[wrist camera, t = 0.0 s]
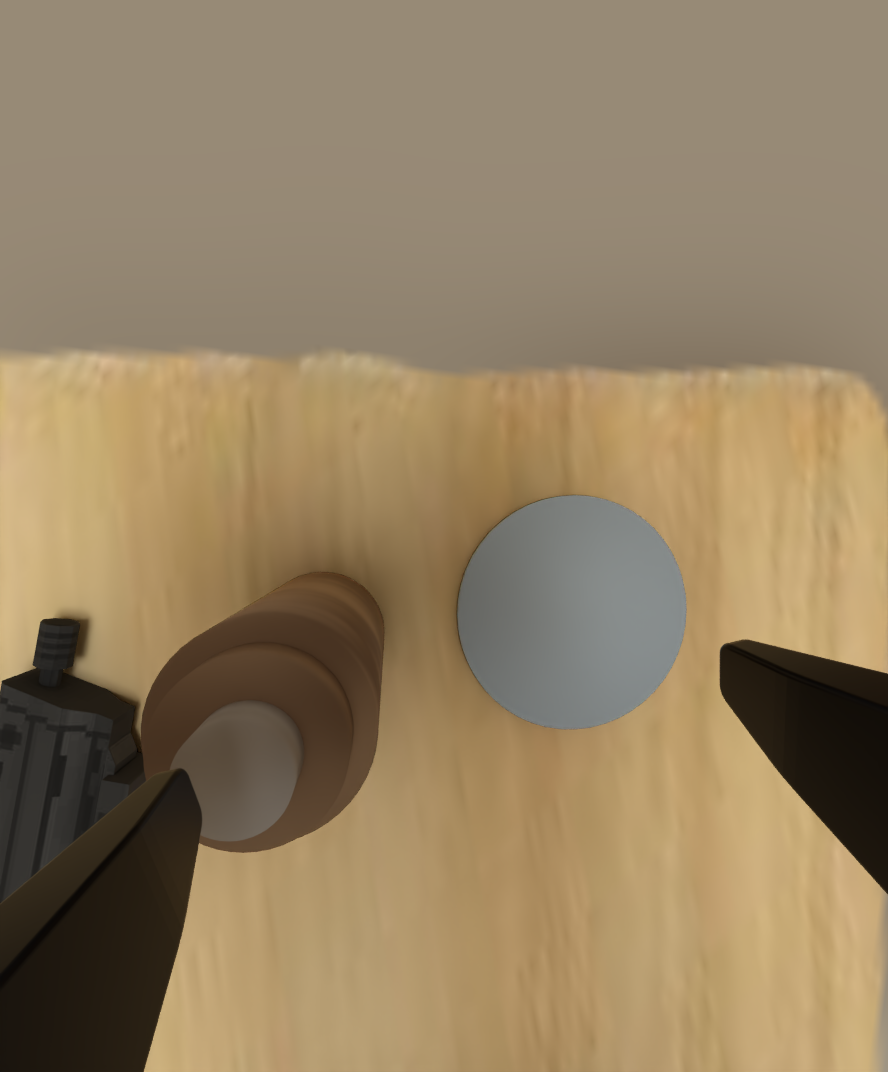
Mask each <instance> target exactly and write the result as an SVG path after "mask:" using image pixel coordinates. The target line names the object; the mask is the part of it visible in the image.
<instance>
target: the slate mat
mask: <svg viewBox="0 0 888 1072" xmlns="http://www.w3.org/2000/svg"><path fill="white" fill-rule="evenodd" d="M457 621H458V632H459V637H460V641H461V646H462V649H463V651H464V654H465V657H466V660H467V662H468V664H469V666H470V668H471V670H472V671H473V673H474V675H475V677H476V678H477V680H478V681H479V683H480V684H481V685H482V687H483V688H484V689H485V690H486V692H487V693H488V694H489V695H490V696H491V697H492V698H493V699H494V700H495V701H496V702H498V703H499V704H500V705H501V706H502V707H504V708H505V709H506V710H508V711H510V712H511V713H513V714H514V715H516V716H518V717H520V718H522V719H524V720H526V721H529V722H531V723H534V724H538V725H541V726H544V727H550V728H557V729H582V728H590V727H594V726H598V725H602V724H605V723H608V722H610V721H613V720H615V719H618V718H620V717H621V716H623V715H625V714H627V713H629V712H630V711H632V710H633V709H635V708H636V707H637V706H639V705H640V704H641V703H643V702H644V701H645V700H646V699H647V698H648V697H649V696H650V695H651V694H652V693H653V692H654V691H655V690H656V689H657V688H658V686H659V685H660V684H661V683H662V681H663V680H664V679H665V677H666V676H667V674H668V672H669V671H670V669H671V668H672V665H673V663H674V661H675V659H676V657H677V655H678V652H679V649H680V646H681V643H682V640H683V635H684V630H685V624H686V594H685V589H684V584H683V579H682V576H681V573H680V570H679V567H678V564H677V562H676V560H675V558H674V556H673V554H672V552H671V550H670V549H669V547H668V546H667V544H666V543H665V541H664V540H663V538H662V537H661V536H660V535H659V534H658V532H657V531H656V530H655V529H654V528H653V527H652V526H651V525H650V524H649V523H647V522H646V521H645V520H644V519H643V518H641V517H640V516H639V515H637V514H636V513H634V512H633V511H631V510H629V509H627V508H625V507H623V506H621V505H619V504H617V503H614V502H611V501H608V500H605V499H601V498H596V497H591V496H579V495H571V496H558V497H553V498H548V499H544V500H540V501H537V502H535V503H532V504H529V505H527V506H525V507H523V508H521V509H519V510H517V511H515V512H513V513H512V514H511V515H509V516H508V517H506V518H505V519H503V520H502V521H501V522H500V523H499V524H498V525H496V526H495V527H494V528H493V529H492V530H491V531H490V532H489V533H488V534H487V536H486V537H485V538H484V539H483V540H482V542H481V543H480V544H479V546H478V547H477V549H476V550H475V552H474V554H473V555H472V557H471V559H470V561H469V563H468V565H467V568H466V570H465V573H464V576H463V579H462V582H461V586H460V591H459V596H458V607H457Z"/></svg>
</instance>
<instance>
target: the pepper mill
mask: <svg viewBox="0 0 888 1072" xmlns="http://www.w3.org/2000/svg"><path fill="white" fill-rule="evenodd" d="M383 649H384V623H383V618H382V614H381V611H380V609H379V607H378V605H377V603H376V601H375V600H374V598H373V597H372V596H371V594H370V593H369V592H368V591H367V590H366V589H365V588H364V587H363V586H361V585H360V584H359V583H357V582H356V581H354V580H352V579H350V578H348V577H346V576H343V575H340V574H336V573H329V572H315V573H309V574H305V575H302V576H299V577H297V578H294V579H292V580H291V581H289V582H287V583H286V584H284V585H282V586H281V587H279V588H277V589H276V590H274V591H272V592H270V593H269V594H267V595H265V596H264V597H262V598H260V599H259V600H257V601H255V602H254V603H252V604H250V605H249V606H247V607H245V608H244V609H242V610H240V611H239V612H237V613H235V614H234V615H232V616H230V617H229V618H227V619H225V620H224V621H222V622H220V623H219V624H217V625H215V626H214V627H212V628H210V629H209V630H207V631H205V632H204V633H202V634H200V635H199V636H197V637H195V638H194V639H192V640H191V641H190V642H188V643H187V644H186V645H184V646H183V647H182V648H181V649H180V650H179V651H178V652H177V653H176V654H175V655H174V656H173V657H172V658H171V659H170V660H169V661H168V662H167V664H166V665H165V666H164V667H163V669H162V670H161V671H160V673H159V675H158V676H157V678H156V680H155V681H154V683H153V685H152V687H151V690H150V692H149V694H148V697H147V699H146V703H145V707H144V711H143V715H142V723H141V747H142V754H143V764H144V772H145V778H146V781H147V780H148V779H149V778H150V777H152V776H153V775H154V774H157V773H160V772H164V771H169V770H173V769H177V768H182V769H184V770H185V771H186V772H187V773H188V775H189V777H190V780H191V783H192V785H193V788H194V791H195V793H196V796H197V799H198V801H199V804H200V807H201V811H202V828H201V834H200V839H199V843H200V844H203V845H205V846H208V847H211V848H214V849H218V850H223V851H228V852H242V853H244V852H258V851H263V850H268V849H272V848H275V847H278V846H281V845H284V844H286V843H288V842H290V841H293V840H295V839H296V838H299V837H302V836H304V835H306V834H308V833H311V832H313V831H315V830H317V829H318V828H320V827H321V826H323V825H325V824H326V823H328V822H329V821H330V820H332V819H333V818H334V817H335V816H337V815H338V814H339V813H340V812H341V811H342V810H343V809H344V808H345V807H346V806H347V805H348V804H349V803H350V802H351V800H352V799H353V798H354V796H355V795H356V794H357V793H358V791H359V790H360V788H361V786H362V785H363V783H364V781H365V779H366V777H367V775H368V773H369V770H370V768H371V765H372V763H373V759H374V755H375V751H376V746H377V738H378V726H379V711H380V695H381V680H382V664H383Z"/></svg>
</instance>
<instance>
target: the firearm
mask: <svg viewBox="0 0 888 1072" xmlns="http://www.w3.org/2000/svg"><path fill="white" fill-rule="evenodd" d="M79 627H80V623H79V621H75V620H71V619H59V618H53V619H44V620H42V621H41V622H40V628H39V633H38V639H37V644H36V650H35V655H34V661H33V666H35V667H37V668H36V669H33V670H30V671H28V672H25V673H22V674H19V675H17V676H14V677H11V678H9V679H6V680H3V681H2V684H1V690H0V903H1V902H3V901H4V900H5V899H6V898H7V897H9V896H10V895H11V894H12V893H13V892H15V891H16V890H17V889H18V888H19V887H21V886H22V885H23V884H24V883H25V882H27V881H28V880H29V879H30V878H31V877H32V876H34V875H35V874H36V873H37V872H38V871H40V870H41V869H42V868H43V867H44V866H46V865H47V864H48V863H49V862H50V861H52V860H53V859H54V858H55V857H56V856H58V855H59V854H60V853H61V852H62V851H63V850H65V849H66V848H67V847H68V846H69V845H71V844H72V843H73V842H74V841H75V840H77V839H78V838H79V837H80V836H81V835H83V834H84V833H85V832H86V831H87V830H88V829H90V828H91V827H92V826H93V825H94V824H96V823H97V822H98V821H99V820H100V819H102V818H103V817H104V816H105V815H106V814H108V813H109V812H110V811H111V810H112V809H114V808H115V807H116V806H117V805H118V804H119V803H121V802H122V801H123V800H124V799H125V798H127V797H128V796H129V795H130V794H131V793H133V792H134V791H135V790H136V789H137V788H139V787H140V786H141V785H142V784H143V783H145V782H146V778H145V772H144V764H143V754H142V753H138V752H137V747H136V745H135V742H134V739H133V737H132V734H131V727H132V721H133V716H134V711H135V706H133V705H130V704H128V703H125V702H123V701H120V700H119V699H118V698H117V697H115V696H114V695H113V694H112V693H111V692H109V691H108V690H107V689H105V688H102V687H99V686H97V685H94V684H92V683H89V682H86V681H84V680H81V679H79V678H76V677H74V676H71V675H68V674H66V673H63V669H67V668H70V667H72V666H73V660H74V655H75V649H76V644H77V638H78V633H79Z"/></svg>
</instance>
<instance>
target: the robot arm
mask: <svg viewBox="0 0 888 1072" xmlns="http://www.w3.org/2000/svg"><path fill="white" fill-rule="evenodd" d="M720 689H721V693H722V695H723V697H724V699H725V701H726V702H727V704H728V705H729V706H730V708H731V709H732V710H733V712H734V713H735V714H736V716H737V717H738V718H739V720H740V721H741V722H742V724H743V725H744V726H745V728H746V729H747V730H748V732H749V733H750V734H751V736H752V737H753V738H754V740H755V741H756V742H757V744H758V745H759V747H760V748H761V749H762V751H763V752H764V753H765V755H766V756H767V757H768V759H769V760H770V761H771V763H772V764H773V765H774V766H775V768H776V769H777V770H778V772H779V773H780V774H781V775H782V777H783V778H784V779H785V780H786V781H787V782H788V784H789V785H790V786H791V787H792V788H793V789H794V791H795V792H796V793H797V794H798V795H799V796H800V797H801V798H802V799H803V801H804V802H805V803H806V804H807V805H808V806H809V807H810V808H811V809H812V811H813V812H814V813H815V814H816V815H817V816H818V817H819V818H820V819H821V821H822V822H823V823H824V824H825V825H826V826H827V827H828V828H829V830H830V831H831V832H832V833H833V834H834V835H835V836H836V837H837V838H838V840H839V841H840V842H841V843H842V844H843V845H844V846H845V847H846V848H847V850H848V851H849V852H850V853H851V854H852V855H853V856H854V857H855V858H856V860H857V861H858V862H859V863H860V864H861V865H862V866H863V867H864V869H865V870H866V871H867V872H868V873H869V874H870V875H871V876H872V877H873V879H874V880H875V881H876V882H877V883H878V884H879V885H880V886H881V887H882V889H883V890H884V891H885V892H886V893H887V894H888V674H887V673H883V672H879V671H875V670H871V669H866V668H862V667H858V666H854V665H850V664H846V663H842V662H838V661H834V660H830V659H825V658H821V657H817V656H813V655H809V654H805V653H801V652H797V651H793V650H788V649H784V648H780V647H776V646H772V645H768V644H764V643H760V642H756V641H752V640H739V641H735V642H731V643H726V644H724V645H723V646H722V647H721V650H720ZM201 828H202V811H201V807H200V804H199V801H198V799H197V796H196V793H195V791H194V788H193V785H192V783H191V780H190V777H189V775H188V773H187V772H186V771H185V770H184V769H182V768H177V769H173V770H169V771H164V772H160V773H157V774H154V775H153V776H152V777H150V778H149V779H148V780H147V781H146V782H145V783H143V784H142V785H141V786H140V787H139V788H137V789H136V790H135V791H134V792H133V793H131V794H130V795H129V796H128V797H127V798H125V799H124V800H123V801H122V802H121V803H119V804H118V805H117V806H116V807H115V808H114V809H112V810H111V811H110V812H109V813H108V814H106V815H105V816H104V817H103V818H102V819H100V820H99V821H98V822H97V823H96V824H94V825H93V826H92V827H91V828H90V829H88V830H87V831H86V832H85V833H84V834H83V835H81V836H80V837H79V838H78V839H77V840H75V841H74V842H73V843H72V844H71V845H69V846H68V847H67V848H66V849H65V850H63V851H62V852H61V853H60V854H59V855H58V856H56V857H55V858H54V859H53V860H52V861H50V862H49V863H48V864H47V865H46V866H44V867H43V868H42V869H41V870H40V871H38V872H37V873H36V874H35V875H34V876H32V877H31V878H30V879H29V880H28V881H27V882H25V883H24V884H23V885H22V886H21V887H19V888H18V889H17V890H16V891H15V892H13V893H12V894H11V895H10V896H9V897H7V898H6V899H5V900H4V901H3V902H1V903H0V1072H144V1069H145V1065H146V1061H147V1058H148V1054H149V1051H150V1047H151V1044H152V1040H153V1037H154V1033H155V1029H156V1026H157V1022H158V1019H159V1015H160V1012H161V1008H162V1004H163V1001H164V997H165V994H166V990H167V987H168V983H169V979H170V976H171V972H172V969H173V965H174V962H175V958H176V955H177V951H178V947H179V943H180V939H181V936H182V932H183V927H184V922H185V918H186V913H187V907H188V901H189V896H190V890H191V885H192V879H193V873H194V868H195V862H196V856H197V851H198V845H199V839H200V834H201Z"/></svg>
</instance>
